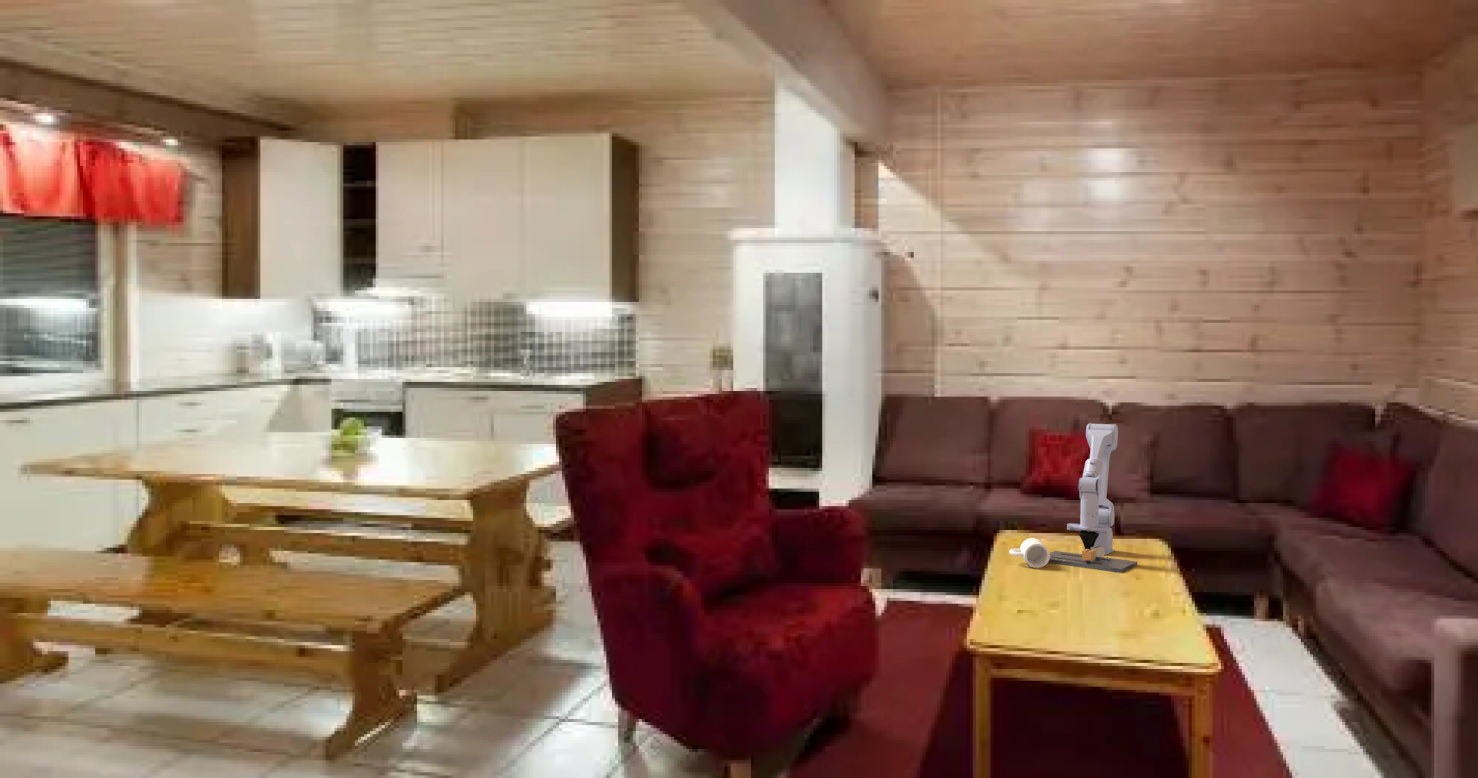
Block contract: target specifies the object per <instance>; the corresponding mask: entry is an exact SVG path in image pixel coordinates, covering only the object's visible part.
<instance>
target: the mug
mask: <svg viewBox="0 0 1478 778" xmlns="http://www.w3.org/2000/svg"><path fill="white" fill-rule="evenodd" d="M1008 553H1009V554H1010V555H1011V556H1013V557H1019V558H1022V559H1023V560H1024V561H1025V563H1026V564H1027V565H1028V566H1029V567H1031V568H1034V569H1039V568H1040V569H1041V568H1043V567H1045V566H1046V565H1047V564H1048V561H1049V559H1050V553H1051V552H1050V551H1049V549H1048V548H1047V546H1046V545H1045V544H1044V543H1043V542H1042V540H1040V539H1038V538H1035V537H1029V538H1027V539H1025V540H1024V541H1022V543H1021V544H1020V547H1019V548H1010V550H1009V551H1008Z"/></svg>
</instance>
